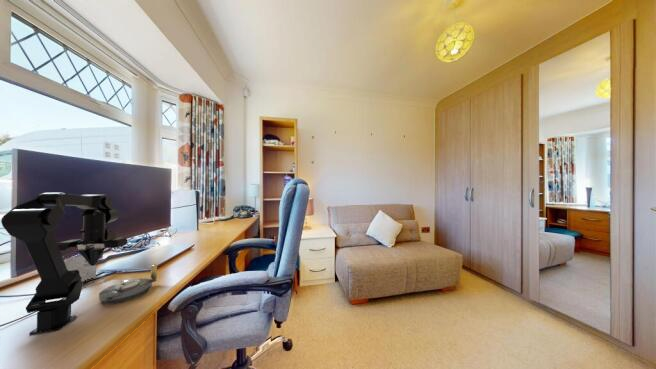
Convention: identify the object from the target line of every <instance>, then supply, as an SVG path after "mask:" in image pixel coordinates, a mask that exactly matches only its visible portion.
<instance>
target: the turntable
mask: <svg viewBox="0 0 656 369" xmlns="http://www.w3.org/2000/svg"><path fill="white" fill-rule="evenodd" d="M157 278H158V264H157V263H156V264H152V265H150V278H146V277H145V278H139V279H140V281H139V286H137V287H135V288H133V289H130V290H127V291H122V292H116V291H115V284H113V285H110V286H108V287H107V288H104V289H102V290H101V291H100V292H99V293H98V300H99V301H100V302H112V301H118V300H123V299H127V298H130V297H133V296H136V295H139V294H141V293H143V292H145V291H147V290H148V289H149V290H150V289H151V288H152V285H153V283H155V282H157ZM149 290H148V291H149ZM148 291H147V292H148Z"/></svg>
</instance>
